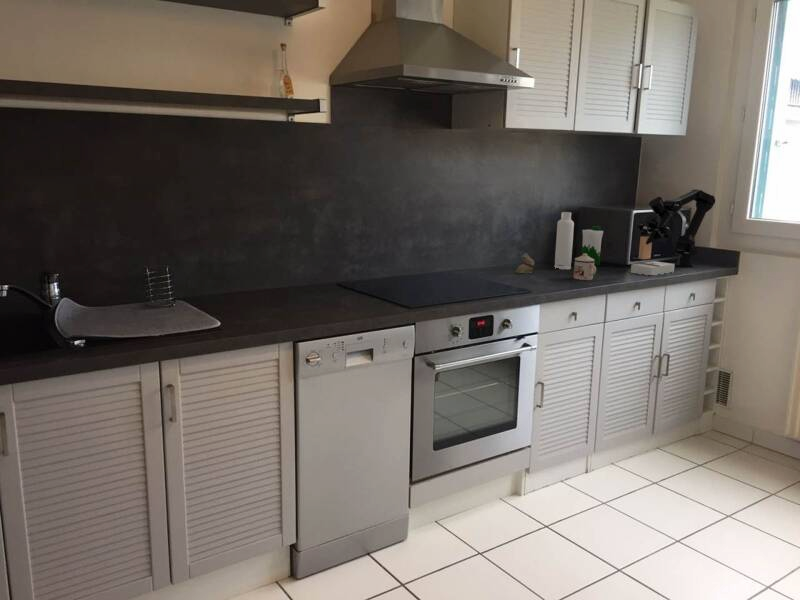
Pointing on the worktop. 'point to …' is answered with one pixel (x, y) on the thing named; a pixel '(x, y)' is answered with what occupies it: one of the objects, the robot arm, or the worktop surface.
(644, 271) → the white flat block
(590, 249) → the white green tumbler
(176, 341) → the worktop surface
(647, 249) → the tan upright block
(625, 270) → the worktop surface
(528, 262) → the chocolate bunny
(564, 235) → the bottle
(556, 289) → the worktop surface
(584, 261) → the teacup with lid
